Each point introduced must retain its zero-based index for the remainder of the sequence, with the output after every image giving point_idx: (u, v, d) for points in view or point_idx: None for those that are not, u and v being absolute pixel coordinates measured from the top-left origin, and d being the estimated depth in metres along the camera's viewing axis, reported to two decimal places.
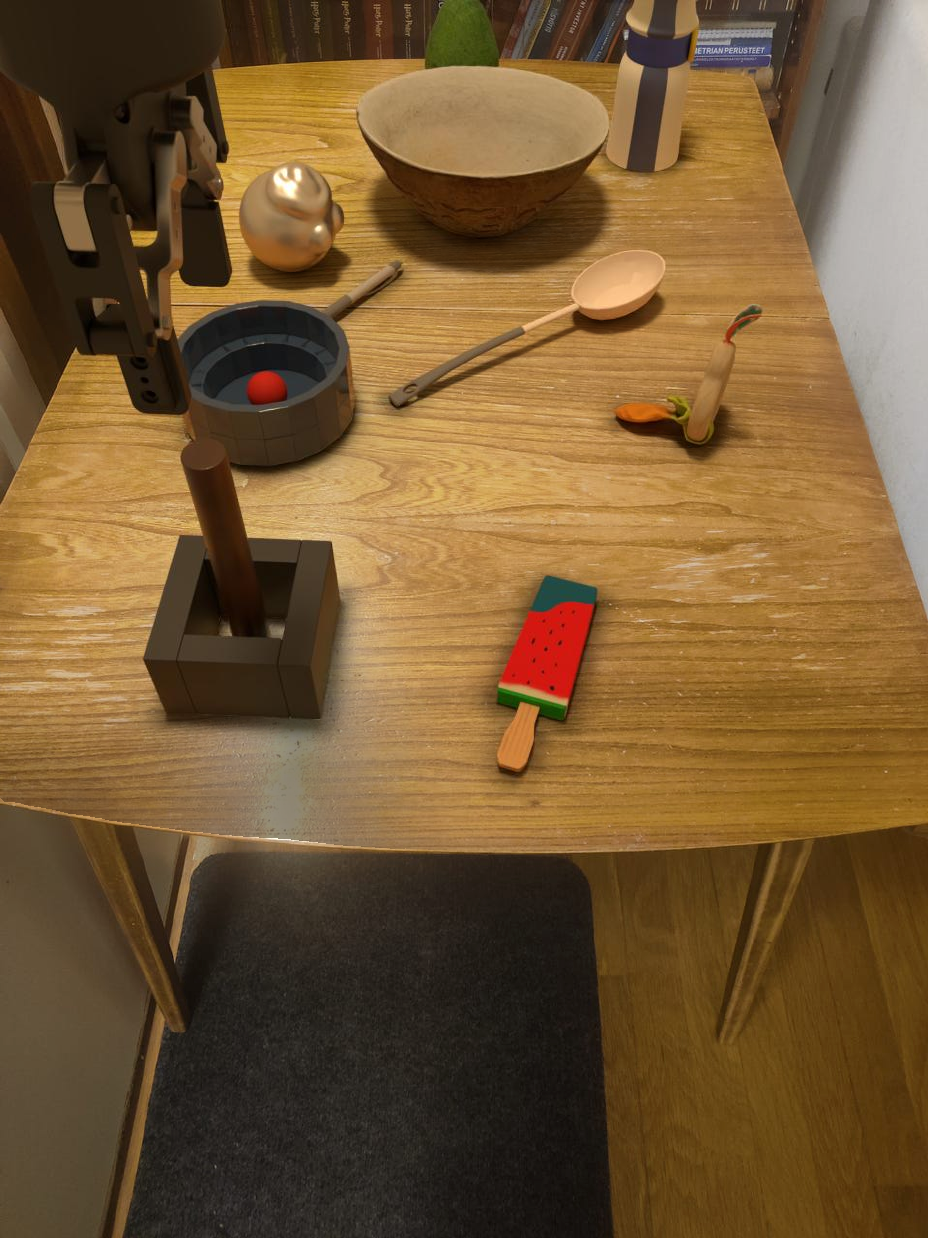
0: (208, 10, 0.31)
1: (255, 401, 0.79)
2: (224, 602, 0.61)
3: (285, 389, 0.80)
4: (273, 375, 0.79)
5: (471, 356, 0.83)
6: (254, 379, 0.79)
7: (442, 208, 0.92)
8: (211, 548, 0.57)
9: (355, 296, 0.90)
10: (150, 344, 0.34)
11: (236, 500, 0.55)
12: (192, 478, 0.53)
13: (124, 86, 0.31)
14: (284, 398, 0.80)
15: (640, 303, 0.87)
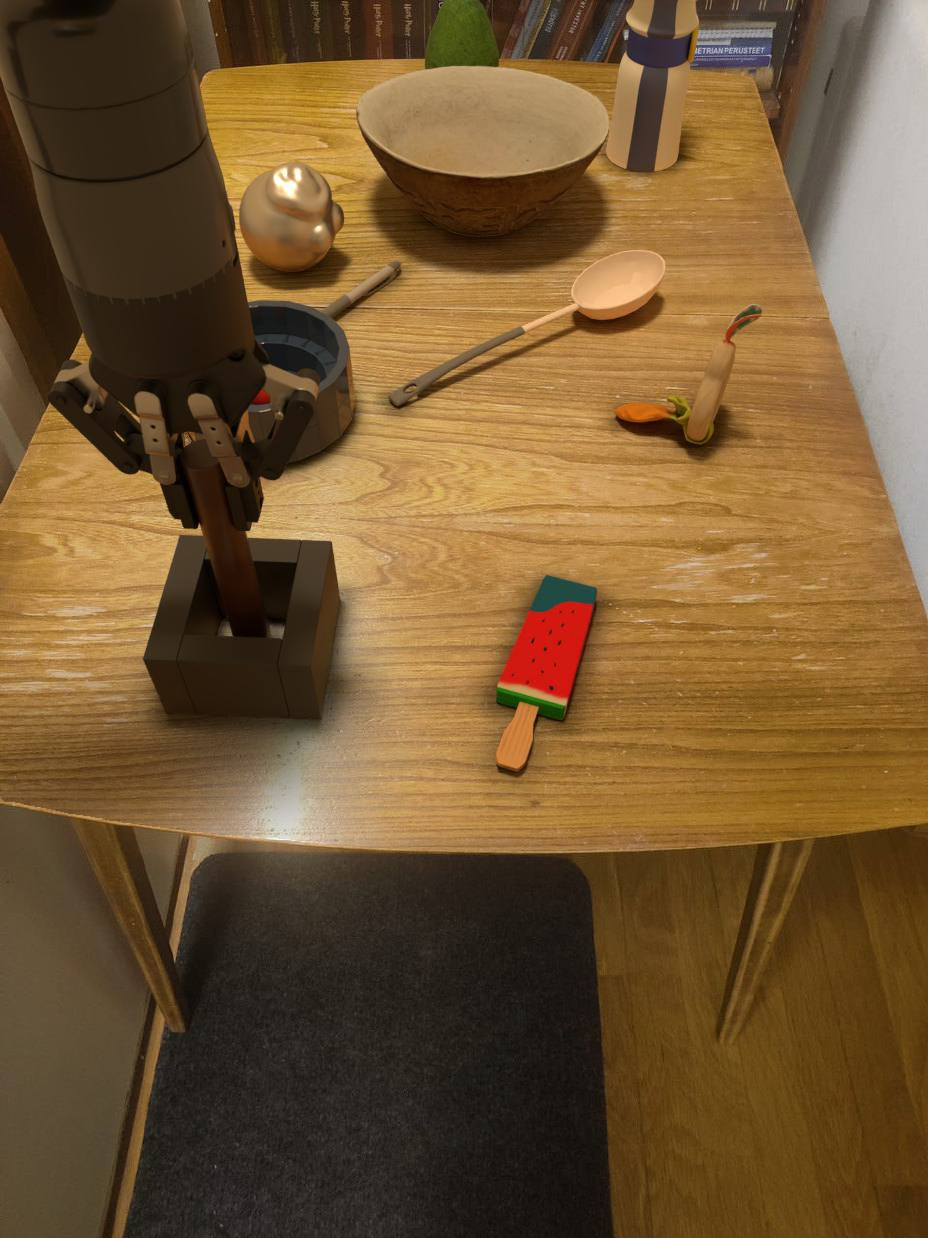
0: None
1: (255, 401, 0.79)
2: (224, 602, 0.61)
3: None
4: None
5: (471, 356, 0.83)
6: None
7: (442, 208, 0.92)
8: (211, 548, 0.57)
9: (354, 296, 0.90)
10: None
11: None
12: (192, 478, 0.53)
13: None
14: None
15: (640, 303, 0.87)
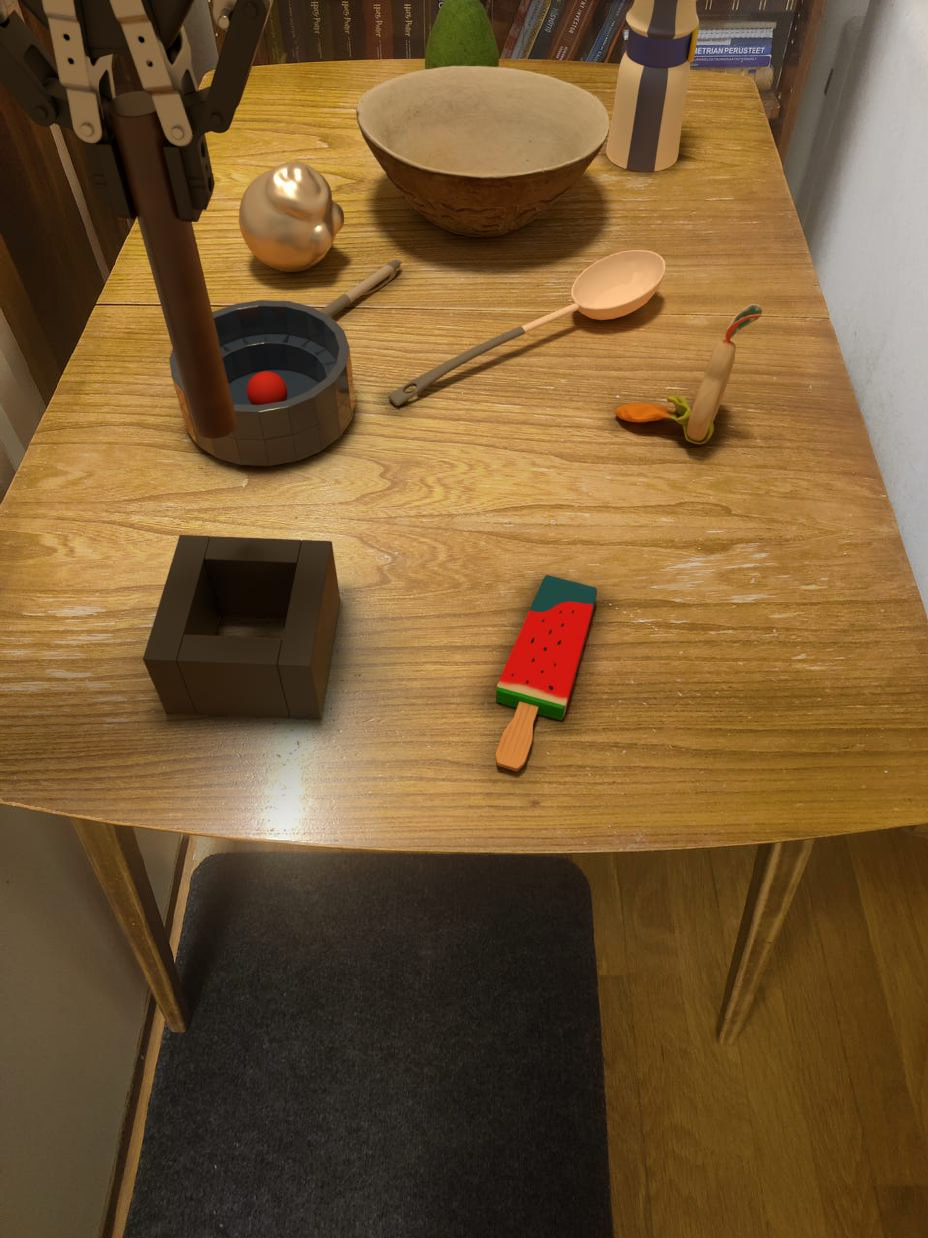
0: None
1: (255, 401, 0.79)
2: (172, 339, 0.51)
3: (285, 389, 0.80)
4: (273, 375, 0.79)
5: (471, 356, 0.83)
6: (254, 379, 0.79)
7: (442, 208, 0.92)
8: (152, 250, 0.47)
9: (354, 295, 0.90)
10: None
11: None
12: (121, 133, 0.43)
13: None
14: (284, 398, 0.80)
15: (640, 303, 0.87)
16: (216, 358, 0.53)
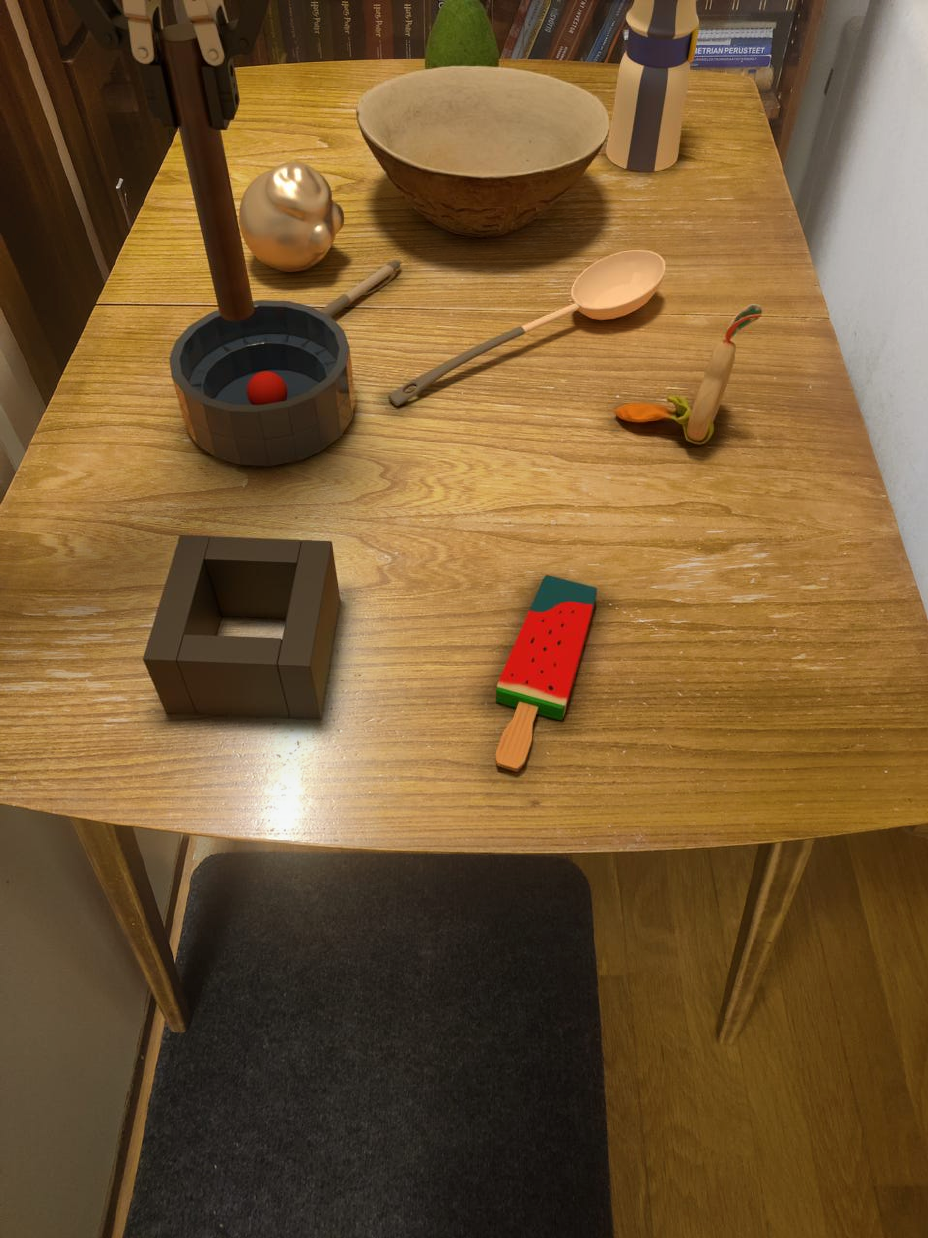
0: None
1: (255, 401, 0.79)
2: (203, 231, 0.64)
3: (285, 389, 0.80)
4: (273, 375, 0.79)
5: (471, 356, 0.83)
6: (254, 379, 0.79)
7: (442, 208, 0.92)
8: (189, 154, 0.60)
9: (353, 296, 0.90)
10: None
11: None
12: (169, 55, 0.55)
13: None
14: (284, 398, 0.80)
15: (640, 303, 0.87)
16: (238, 249, 0.65)
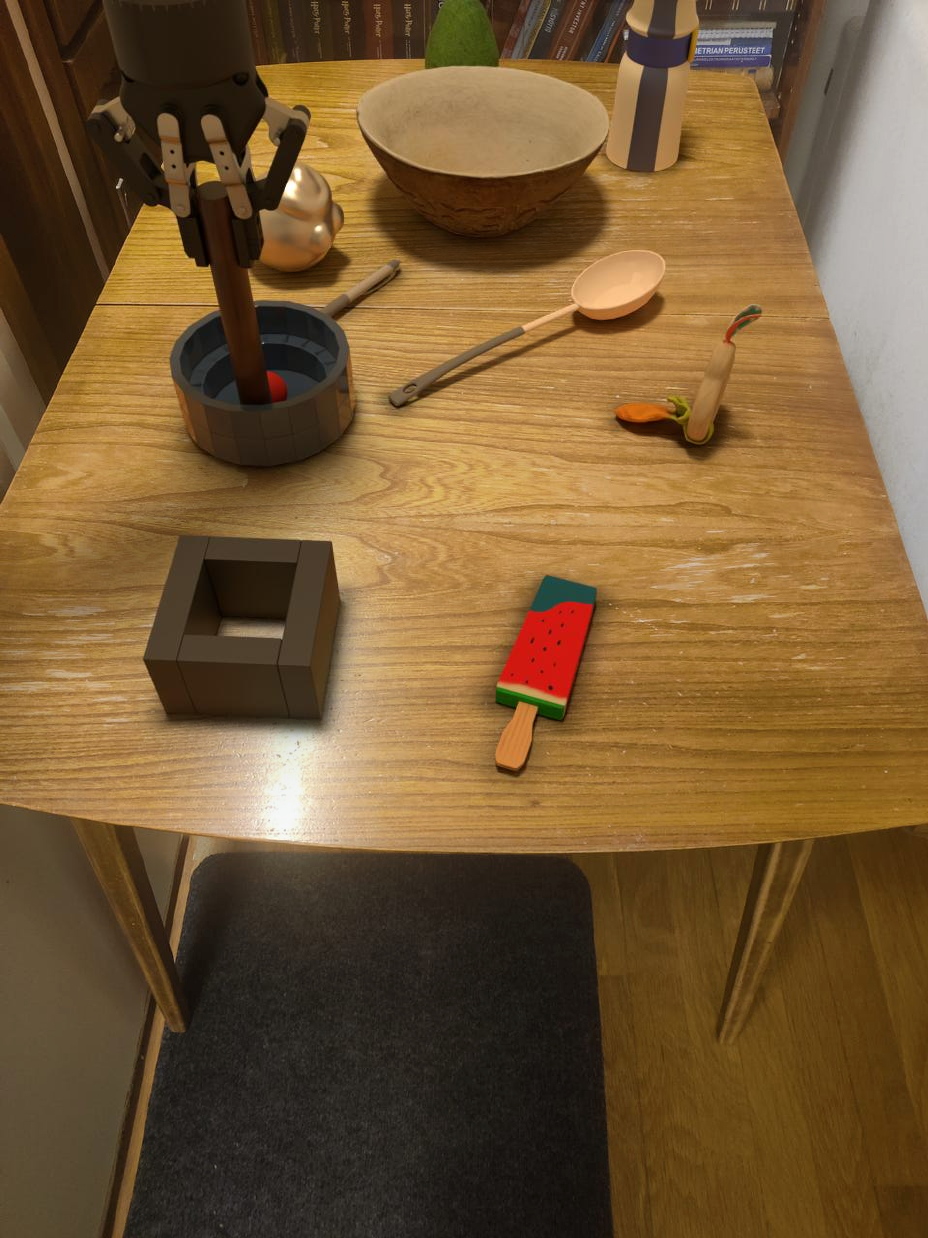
0: None
1: None
2: (230, 349, 0.71)
3: (285, 389, 0.80)
4: (273, 375, 0.79)
5: (471, 356, 0.83)
6: None
7: (442, 208, 0.92)
8: (219, 287, 0.67)
9: (353, 295, 0.90)
10: None
11: None
12: (204, 210, 0.63)
13: None
14: (284, 398, 0.80)
15: (640, 303, 0.87)
16: (261, 363, 0.73)
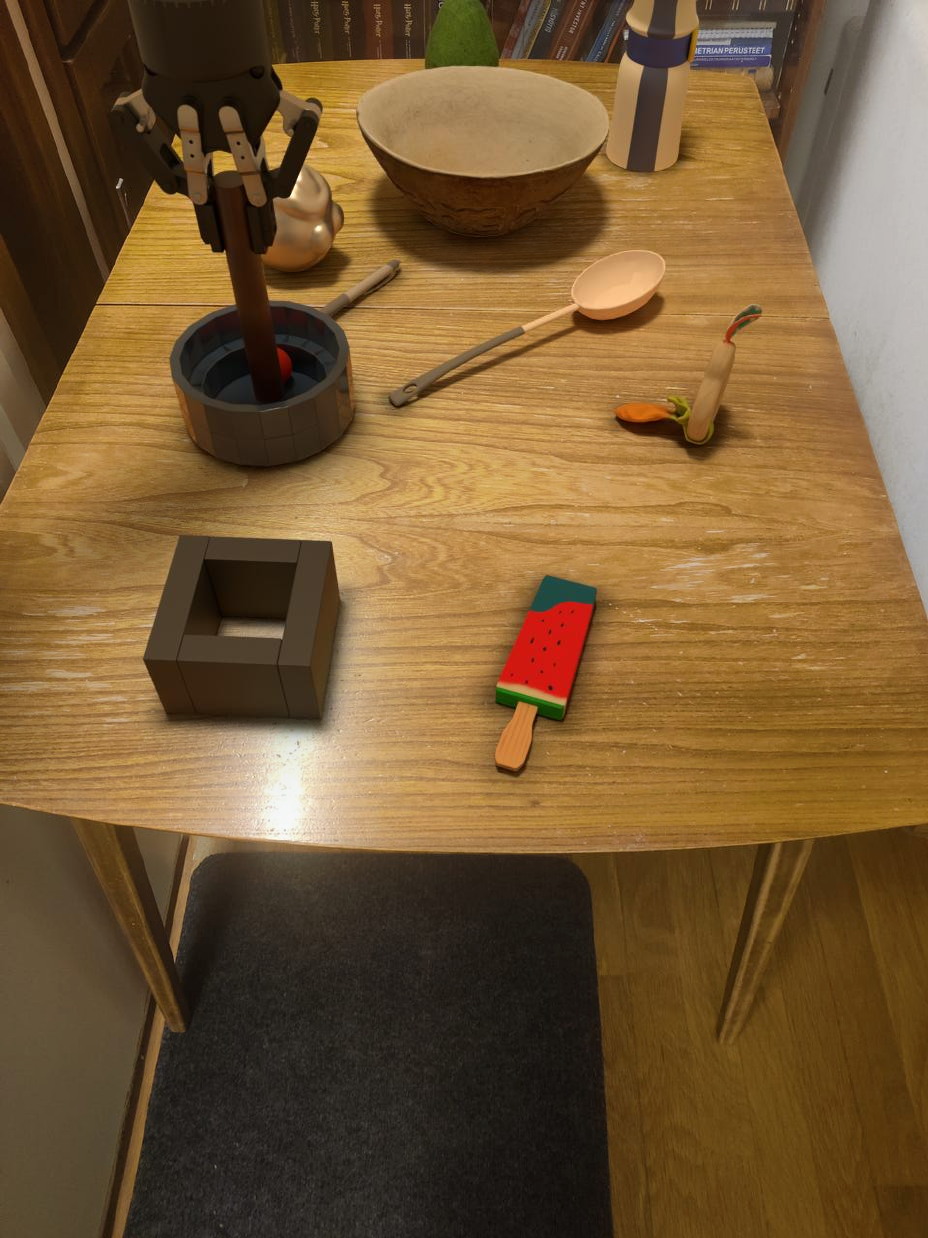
0: None
1: None
2: (243, 332, 0.75)
3: (291, 363, 0.82)
4: None
5: (471, 356, 0.83)
6: None
7: (442, 208, 0.92)
8: (234, 273, 0.70)
9: (353, 295, 0.90)
10: None
11: None
12: (220, 198, 0.66)
13: None
14: (289, 359, 0.81)
15: (640, 303, 0.87)
16: (273, 346, 0.76)
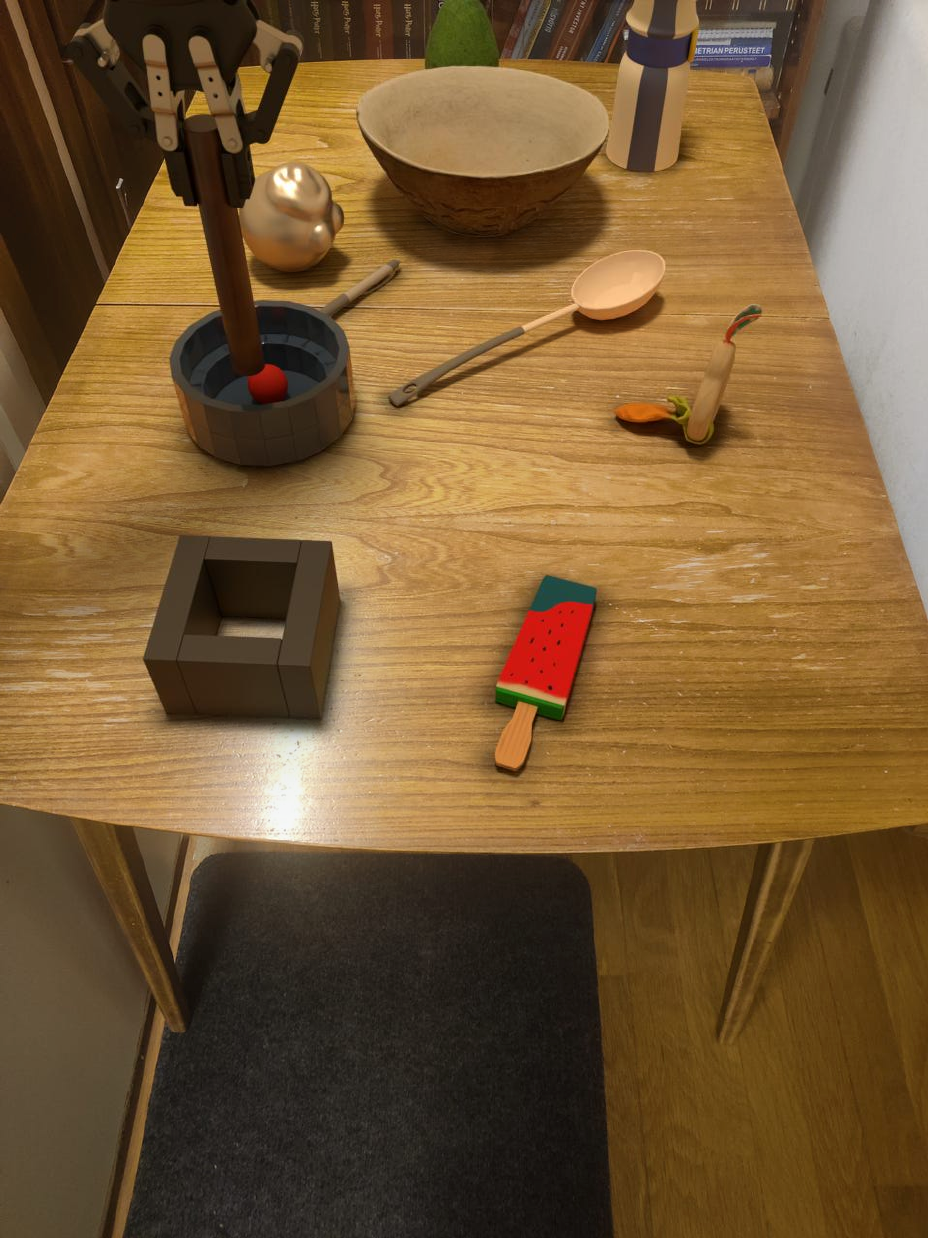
0: None
1: (254, 384, 0.79)
2: (219, 297, 0.69)
3: (286, 380, 0.80)
4: None
5: (471, 356, 0.83)
6: None
7: (442, 208, 0.92)
8: (208, 229, 0.65)
9: (353, 295, 0.90)
10: None
11: None
12: (192, 144, 0.60)
13: None
14: (284, 387, 0.80)
15: (640, 303, 0.87)
16: (252, 312, 0.70)
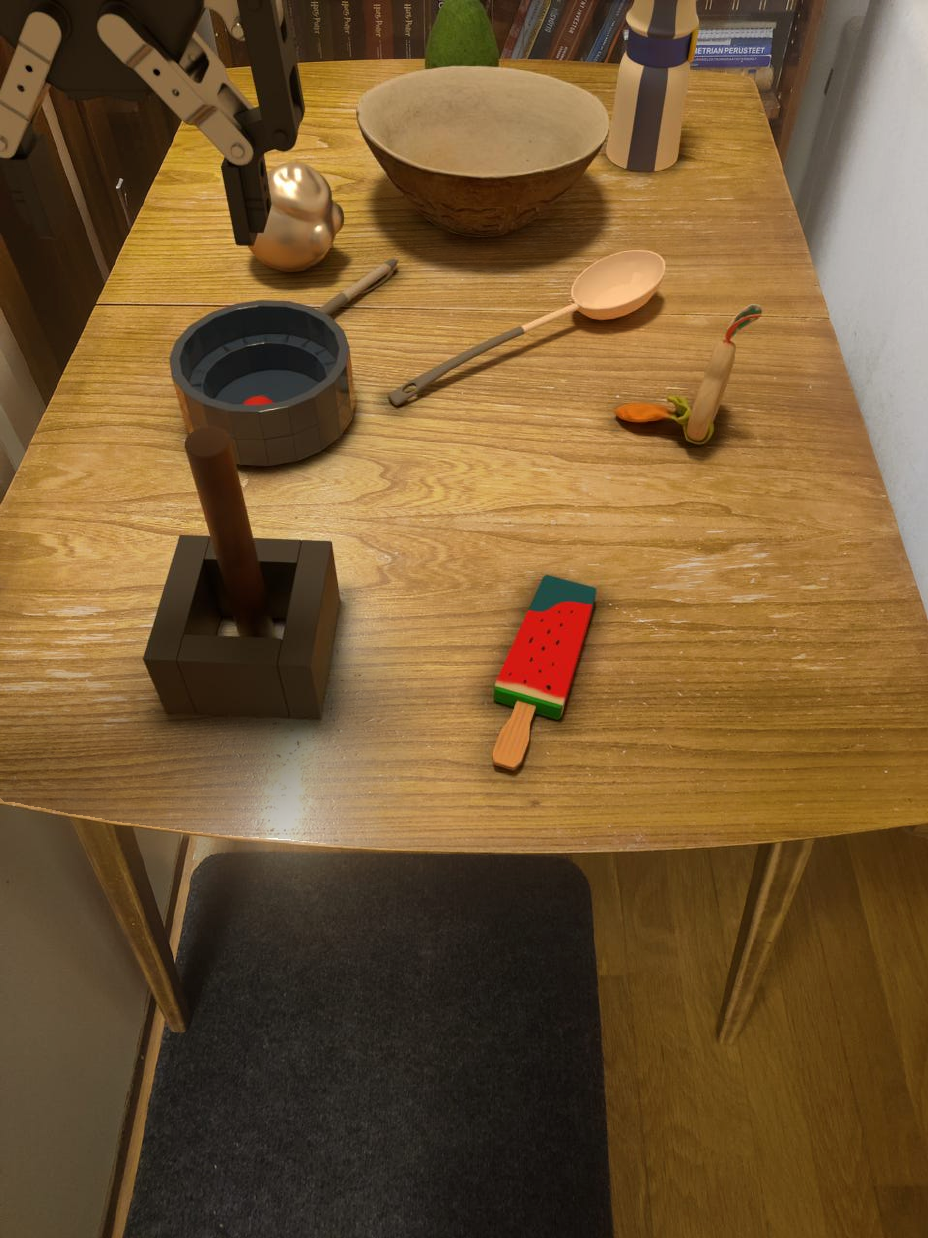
0: None
1: None
2: (227, 590, 0.62)
3: None
4: None
5: (470, 356, 0.83)
6: None
7: (442, 208, 0.92)
8: (214, 535, 0.58)
9: (351, 294, 0.90)
10: None
11: (239, 488, 0.56)
12: (196, 465, 0.53)
13: None
14: None
15: (640, 303, 0.87)
16: (263, 600, 0.63)
